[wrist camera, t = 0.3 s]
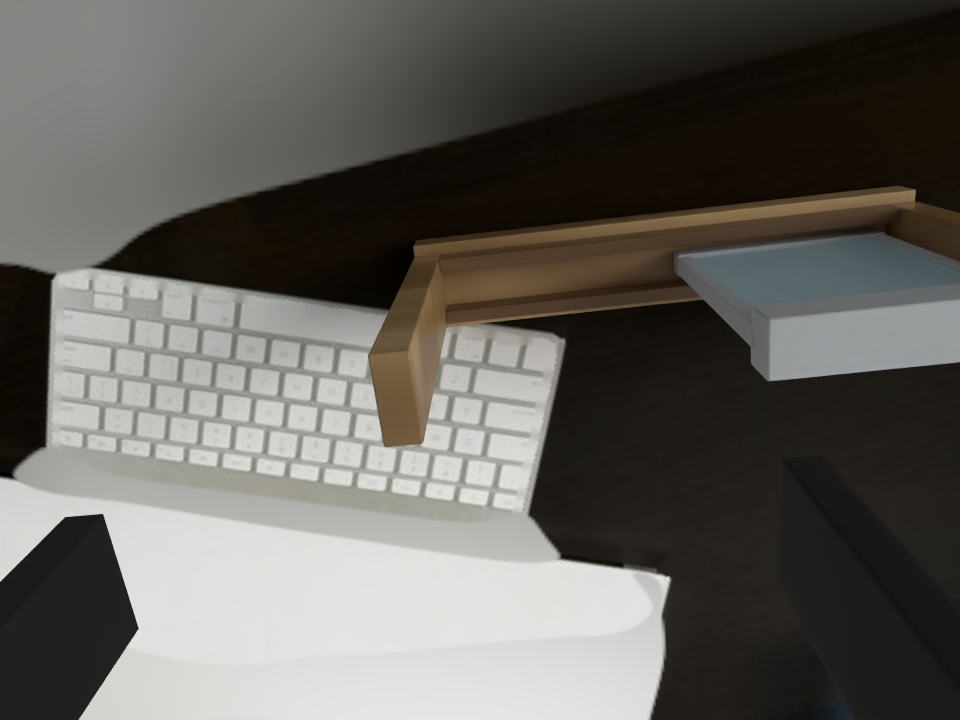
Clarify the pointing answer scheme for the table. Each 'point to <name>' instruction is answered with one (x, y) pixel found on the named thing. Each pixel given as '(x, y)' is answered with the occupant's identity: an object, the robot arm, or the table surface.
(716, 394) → the table surface
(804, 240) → the grey rectangular block
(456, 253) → the brown wooden l-shape
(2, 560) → the table surface
